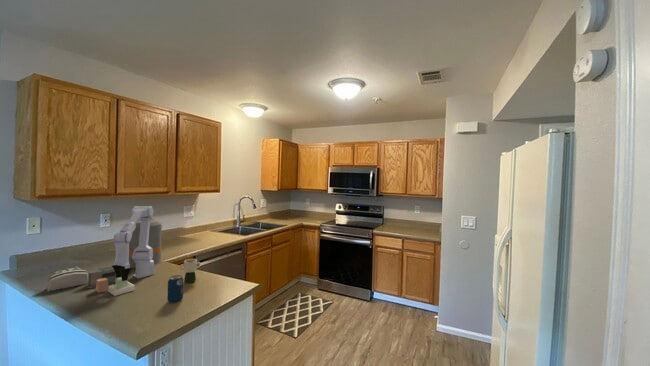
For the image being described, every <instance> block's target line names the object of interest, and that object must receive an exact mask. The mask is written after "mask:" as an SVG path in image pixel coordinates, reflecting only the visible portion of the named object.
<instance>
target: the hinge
mask: <svg viewBox="0 0 650 366" xmlns="http://www.w3.org/2000/svg"><path fill="white" fill-rule="evenodd" d="M85 284H88V271H87V269H86V270H85V269H81V270H72V271H66V272H62V273H59V274H56V273H55V274H53V275H51V276H50V277H49V280H48V284H47V292H51V291H50V290H52V291H56V289H57V290H60V289H61V288H62V289H66V288H70V287H75V286H80V285H85Z"/></svg>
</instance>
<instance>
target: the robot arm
mask: <svg viewBox="0 0 650 366" xmlns="http://www.w3.org/2000/svg"><path fill="white" fill-rule="evenodd" d="M131 214H132V215H131V216H130V219H129V221H128V222H125V223H124V224H123V226H122V227H121V228H120V230H119V231H118V232H116V233H115V234H114V235H113V239H112V240H113V243H114V247H115V260H114V263H112V265H111V266H112V267H113V269H114V271H115V274H116V278H119V277H121V278H122V281H126V280H127V281H128V279H129V276H130V273H131V271H132V269H133V268H132V267H130V264H129V242H130V241H131V237H132V233H133V231H134V230H135V228H136V225H135V224H136V223H137V222H138V221H139V219H140V221H141V225H140V237H139V246H138V247H137V248H135V249H134V252H133V255H132V259H133V261H135V263H136V268H135V273H134V274H132V277H135V278H137V279H142V278H145V277H149V276H152V275H155V265H154V261H153V260H152V258H153V248H151V247H150V246H148V240H149V228H150V219H154V208H153V206H152V205H149V206H147V205H146V206H145V205H144V206H137V205H134V207H133V208H132V209H131ZM144 250H146V251H144Z"/></svg>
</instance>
